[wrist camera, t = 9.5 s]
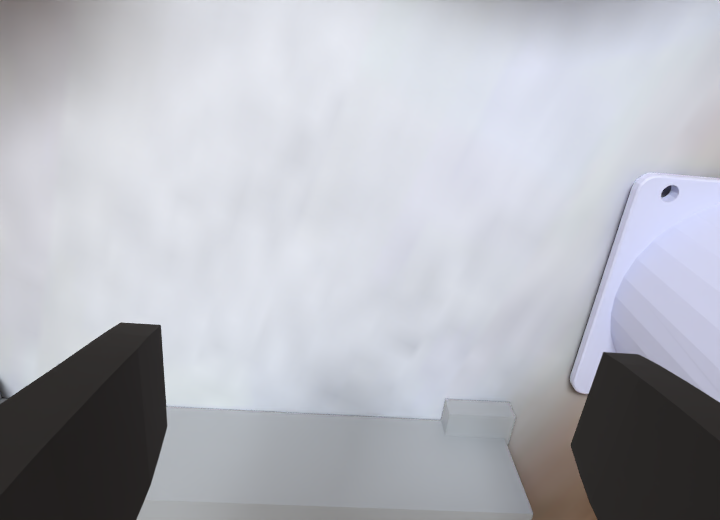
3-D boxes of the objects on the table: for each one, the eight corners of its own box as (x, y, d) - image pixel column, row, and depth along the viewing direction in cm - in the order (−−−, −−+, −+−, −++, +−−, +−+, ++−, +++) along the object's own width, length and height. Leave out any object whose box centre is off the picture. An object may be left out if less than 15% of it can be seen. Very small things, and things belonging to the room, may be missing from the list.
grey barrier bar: (509, 402, 20) (547, 490, 16) (493, 462, 21) (524, 557, 18) (-79, 371, 18) (-179, 462, 15) (-58, 438, 20) (-147, 537, 16)
